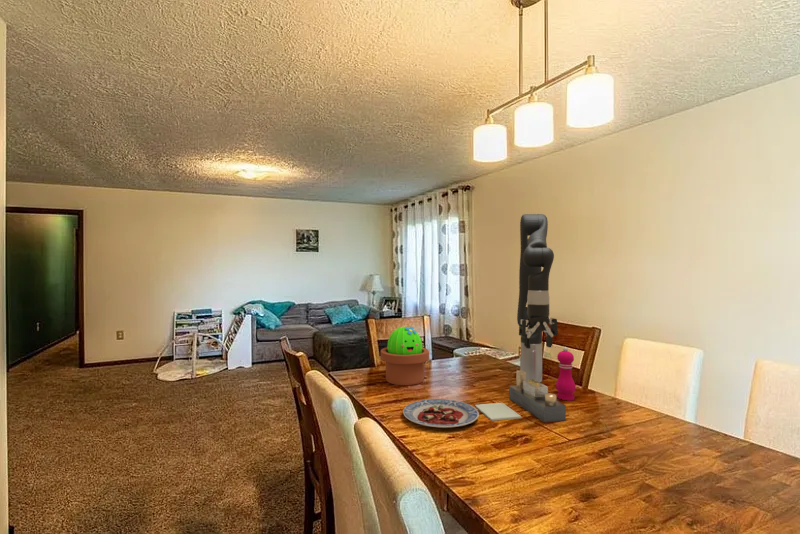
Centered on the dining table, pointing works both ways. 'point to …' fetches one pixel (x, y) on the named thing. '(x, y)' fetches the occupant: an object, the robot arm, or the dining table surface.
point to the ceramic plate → (440, 413)
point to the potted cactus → (404, 357)
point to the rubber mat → (497, 411)
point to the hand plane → (537, 402)
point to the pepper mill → (565, 376)
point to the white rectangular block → (534, 388)
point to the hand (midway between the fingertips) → (538, 347)
